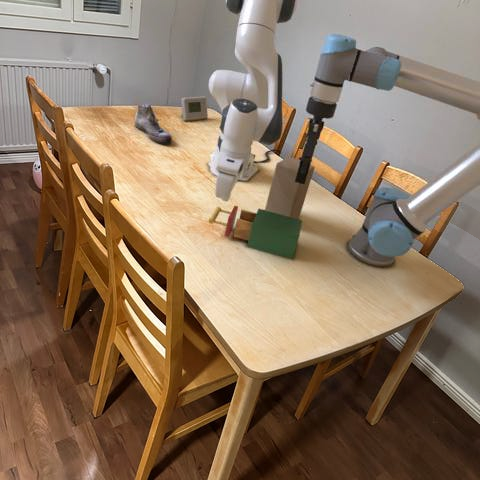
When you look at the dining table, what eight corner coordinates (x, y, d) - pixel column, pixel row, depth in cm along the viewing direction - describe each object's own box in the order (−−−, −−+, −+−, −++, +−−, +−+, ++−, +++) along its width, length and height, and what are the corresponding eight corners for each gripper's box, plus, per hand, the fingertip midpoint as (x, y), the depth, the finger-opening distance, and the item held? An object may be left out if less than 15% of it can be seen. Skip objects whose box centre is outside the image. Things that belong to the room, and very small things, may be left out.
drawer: (206, 231, 137) (210, 212, 134) (214, 218, 145) (217, 200, 141) (265, 247, 136) (270, 229, 132) (269, 234, 143) (274, 216, 139)
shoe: (175, 145, 192) (178, 118, 185) (151, 146, 186) (153, 118, 180) (154, 124, 209) (157, 98, 202) (132, 124, 203) (133, 97, 197)
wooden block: (287, 226, 151) (303, 173, 140) (262, 215, 155) (276, 162, 144) (299, 217, 159) (315, 166, 148) (275, 206, 162) (289, 155, 152)
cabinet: (247, 246, 136) (252, 222, 132) (253, 231, 144) (258, 208, 140) (292, 259, 135) (299, 235, 130) (295, 242, 143) (302, 220, 139)
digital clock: (183, 121, 220) (185, 100, 214) (174, 115, 226) (177, 94, 220) (210, 121, 229) (214, 100, 223) (202, 115, 235) (205, 95, 229)
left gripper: (231, 143, 137) (224, 183, 144) (215, 166, 119) (207, 210, 127) (251, 148, 136) (242, 188, 144) (237, 172, 119) (228, 216, 126)
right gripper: (312, 86, 125) (293, 155, 137) (305, 107, 104) (283, 187, 116) (338, 92, 125) (317, 161, 136) (336, 115, 104) (311, 194, 115)
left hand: (225, 199), depth 135 cm, fingers closed
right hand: (301, 173), depth 126 cm, fingers open, 13 cm apart
